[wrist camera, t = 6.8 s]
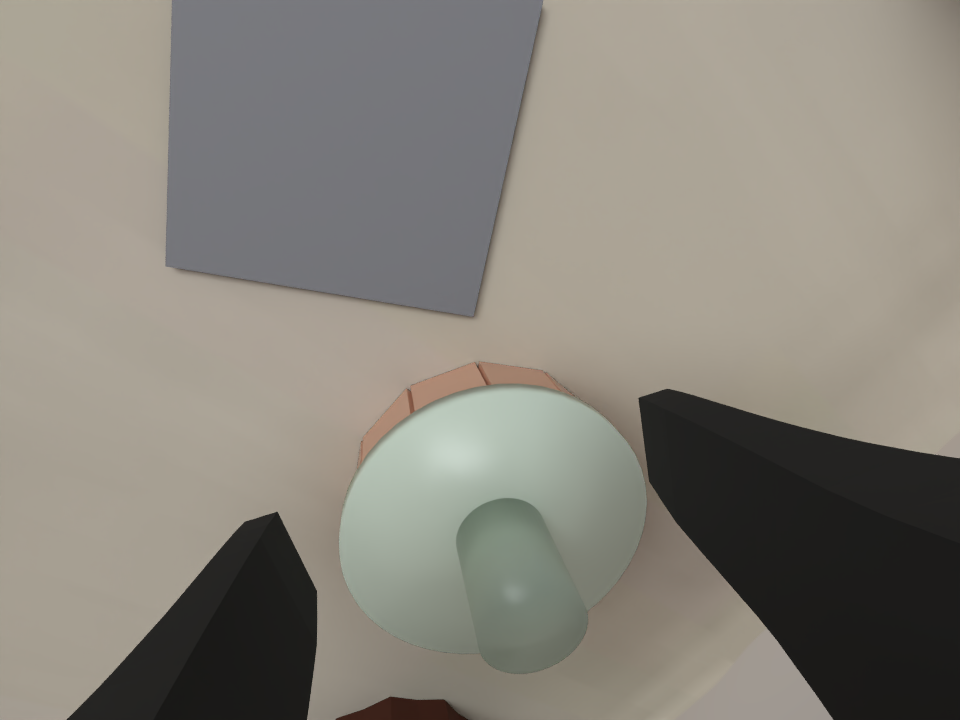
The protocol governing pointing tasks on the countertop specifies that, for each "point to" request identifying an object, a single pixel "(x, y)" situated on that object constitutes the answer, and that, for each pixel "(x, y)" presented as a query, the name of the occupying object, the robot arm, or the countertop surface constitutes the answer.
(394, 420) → the bowl
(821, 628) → the robot arm
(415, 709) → the muffin
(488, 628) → the lid
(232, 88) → the mat
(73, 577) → the countertop surface
